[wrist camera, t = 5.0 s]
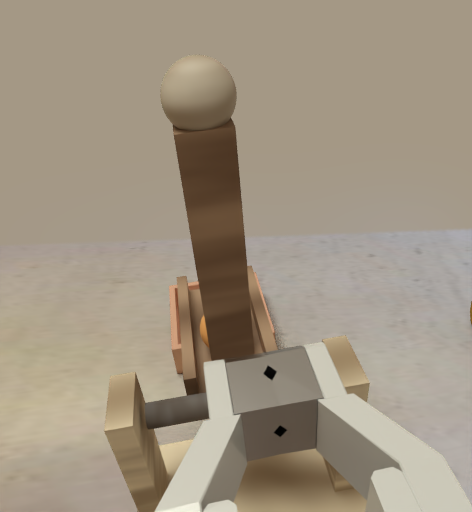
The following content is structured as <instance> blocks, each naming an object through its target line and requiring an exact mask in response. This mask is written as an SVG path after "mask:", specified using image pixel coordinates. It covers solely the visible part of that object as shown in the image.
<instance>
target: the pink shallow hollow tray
mask: <svg viewBox="0 0 472 512" xmlns="http://www.w3.org/2000/svg"><path fill="white" fill-rule="evenodd" d="M254 275H255V278H256V281H257V284H258V288H259V291H260V294H261V297H262V300H263V304H264V307H265V310H266V313H267V316H268V320H269V323H270V326H271V329H272V332H273V335H274V339H275V331H274V328H273V325H272V322H271V319H270V316H269V313H268V309H267V306H266V303H265V300H264V297H263V294H262V291H261V288H260V284H259V281H258V278H257V275H256V272H254ZM188 288H189V290H196V289H200V288H199V282H198V281H197V282H191V283H188ZM169 291H170V315H171V340H172V352H173V357H174V361H175V365H176V369H177V373H178V374H180V373H183V365H182V350H181V334H180V319H179V304H178V289H177V285H172V286H169Z"/></svg>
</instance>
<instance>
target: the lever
mask: <svg viewBox="0 0 472 512" xmlns="http://www.w3.org/2000/svg"><path fill="white" fill-rule="evenodd" d="M160 96H161V103H162V107H163V110H164V112H165V114H166V116H167V118H168V119H169V120H170V122H171V123H172V124H173V132H174V139H175V145H176V151H177V157H178V163H179V169H180V175H181V180H182V187H183V193H184V199H185V205H186V211H187V217H188V222H189V229H190V234H191V241H192V247H193V252H194V258H195V264H196V270H197V276H198V282H199V288H200V289H196V290H189V288H188V283H187V277H186V276H182V277H177V289H178V304H179V319H180V334H181V350H182V365H183V380H184V384H185V389H186V393H187V396H182V397H177V398H171V399H166V400H160V401H154V402H149V403H145V420H146V425H147V428H148V430H149V429H154V428H160V427H165V426H171V425H176V424H182V423H187V422H193V421H198V420H204V419H209V410H208V401H207V393H206V384H205V376H204V362H208V361H215V360H222V359H224V362H225V359H226V358H233V357H240V356H246V355H253V354H260V353H263V352H269V351H274V350H278V348H277V345H276V342H275V339H274V335H273V332H272V329H271V326H270V323H269V320H268V316H267V313H266V310H265V307H264V304H263V300H262V297H261V294H260V291H259V288H258V284H257V281H256V278H255V275H254V272H253V269H252V266H247V259H246V248H245V236H244V225H243V213H242V201H241V190H240V177H239V166H238V154H237V142H236V131H235V125H234V123H233V121H232V119H231V116H232V114H233V112H234V109H235V105H236V87H235V84H234V81H233V78H232V76H231V74H230V73H229V71H228V70H227V69H226V68H225V67H224V66H223V65H222V64H221V63H220V62H218V61H217V60H215V59H213V58H211V57H208V56H204V55H190V56H186V57H184V58H182V59H180V60H178V61H177V62H175V63H174V64H173V65H172V66H171V67H170V68H169V70H168V71H167V72H166V74H165V76H164V78H163V82H162V85H161V94H160ZM203 315H204V318H205V324H206V330H207V336H208V342H209V348H210V349H209V348H208V347H207V346H206V345H205V343H204V342H203V340H202V338H201V334H200V323H201V319H202V317H203Z"/></svg>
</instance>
